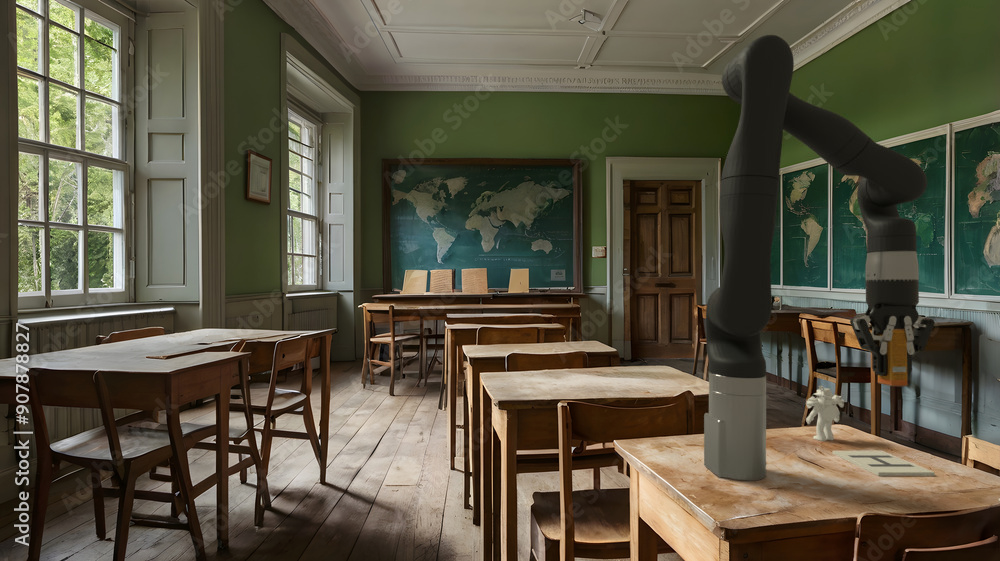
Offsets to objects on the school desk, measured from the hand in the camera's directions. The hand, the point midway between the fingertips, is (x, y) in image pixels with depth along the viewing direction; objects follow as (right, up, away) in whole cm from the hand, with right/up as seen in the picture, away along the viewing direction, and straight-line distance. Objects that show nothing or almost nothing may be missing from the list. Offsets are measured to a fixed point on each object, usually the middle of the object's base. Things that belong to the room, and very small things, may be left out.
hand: (892, 374), depth 92 cm
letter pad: (+1, -17, +4) cm, 18 cm away
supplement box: (0, -2, 0) cm, 2 cm away
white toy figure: (+1, -18, +20) cm, 27 cm away
